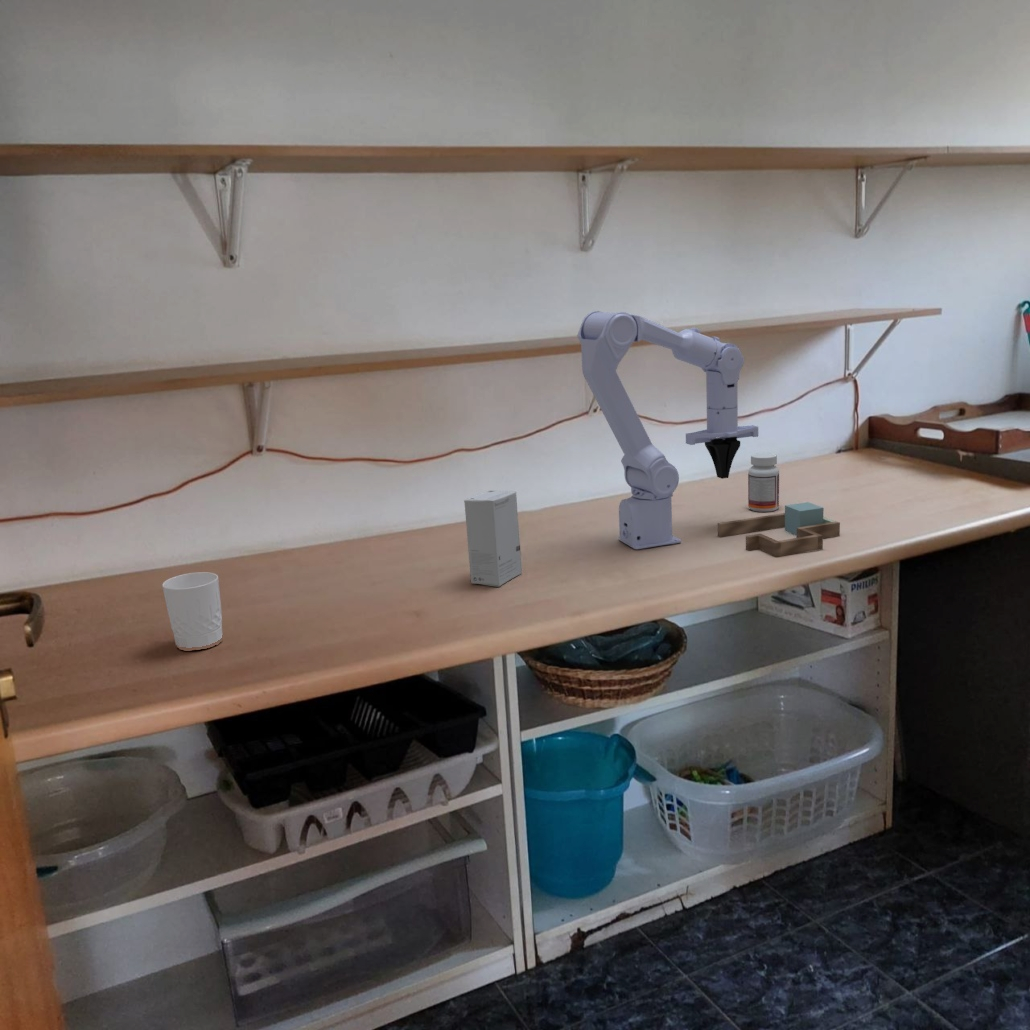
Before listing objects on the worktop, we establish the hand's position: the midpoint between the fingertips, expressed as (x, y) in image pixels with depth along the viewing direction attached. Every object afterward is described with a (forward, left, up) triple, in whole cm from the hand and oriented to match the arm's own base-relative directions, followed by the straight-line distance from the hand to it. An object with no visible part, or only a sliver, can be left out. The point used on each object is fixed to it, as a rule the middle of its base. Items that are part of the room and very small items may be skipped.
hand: (722, 477), depth 186 cm
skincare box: (-49, -9, -10) cm, 51 cm away
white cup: (-98, -17, -10) cm, 100 cm away
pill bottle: (+14, +8, -10) cm, 19 cm away
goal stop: (+15, -11, -10) cm, 20 cm away
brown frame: (+6, -13, -10) cm, 17 cm away
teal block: (+11, -11, -10) cm, 18 cm away
